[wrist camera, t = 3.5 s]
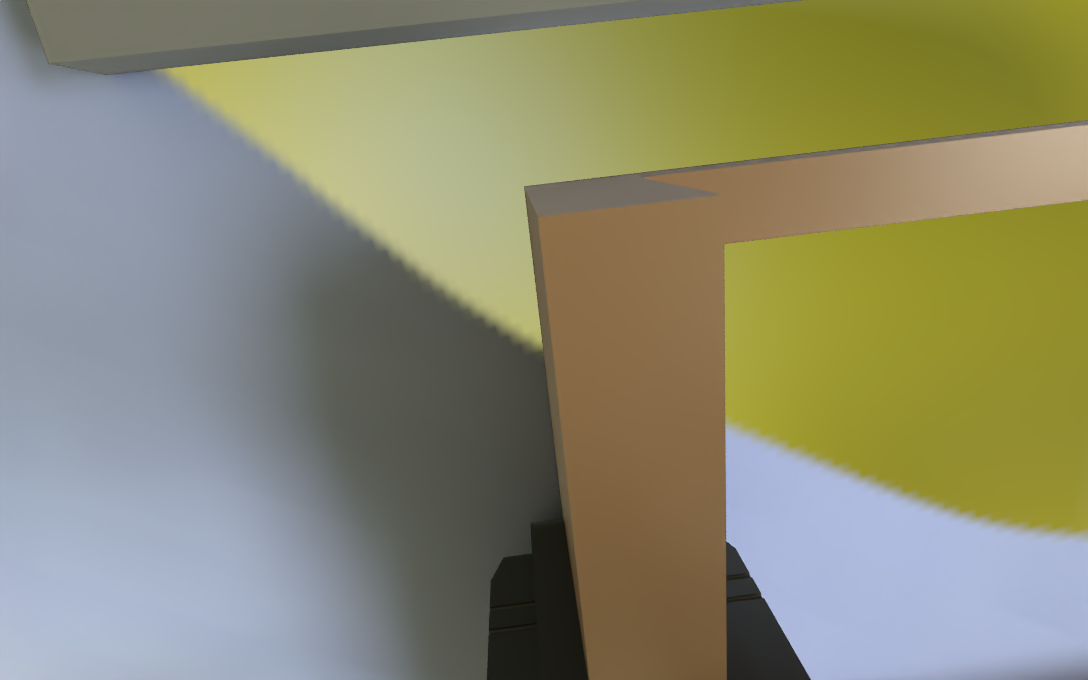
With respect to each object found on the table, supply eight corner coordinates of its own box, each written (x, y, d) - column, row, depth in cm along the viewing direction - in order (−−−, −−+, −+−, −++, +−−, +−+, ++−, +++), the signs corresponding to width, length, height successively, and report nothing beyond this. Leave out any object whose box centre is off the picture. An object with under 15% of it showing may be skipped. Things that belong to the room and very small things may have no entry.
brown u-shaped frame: (1469, 75, 9) (2230, 15, 5) (1228, 701, 13) (1531, 932, 9) (524, 186, 8) (537, 218, 4) (595, 790, 12) (633, 1070, 9)
